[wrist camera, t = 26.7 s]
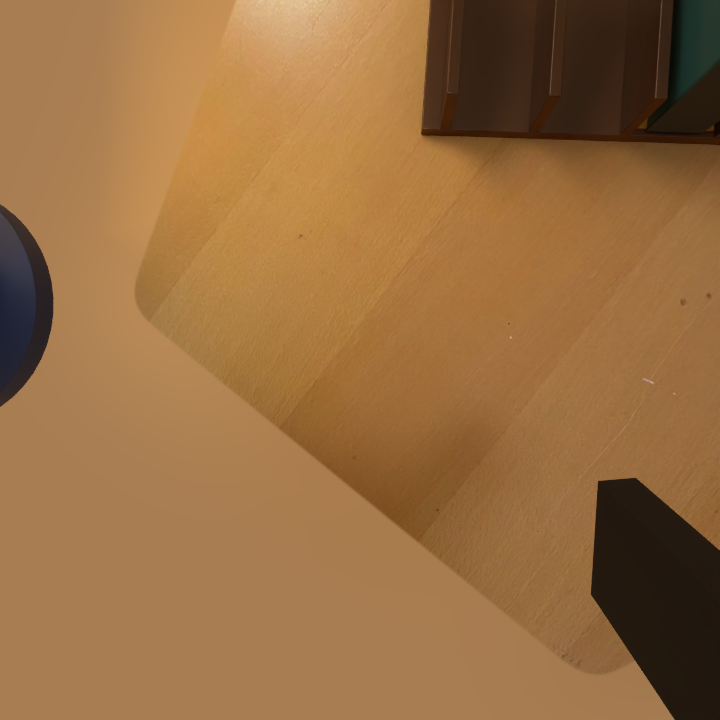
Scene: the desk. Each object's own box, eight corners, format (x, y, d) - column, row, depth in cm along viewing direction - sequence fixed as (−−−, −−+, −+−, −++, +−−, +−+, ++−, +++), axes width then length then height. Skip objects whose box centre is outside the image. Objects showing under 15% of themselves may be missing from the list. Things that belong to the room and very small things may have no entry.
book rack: (421, 134, 39) (426, 92, 33) (431, -13, 39) (437, -82, 33) (734, 145, 37) (800, 102, 31) (744, -10, 37) (812, -83, 31)
